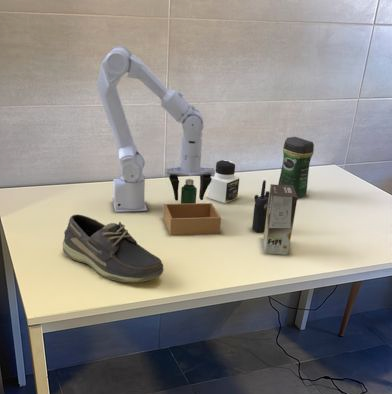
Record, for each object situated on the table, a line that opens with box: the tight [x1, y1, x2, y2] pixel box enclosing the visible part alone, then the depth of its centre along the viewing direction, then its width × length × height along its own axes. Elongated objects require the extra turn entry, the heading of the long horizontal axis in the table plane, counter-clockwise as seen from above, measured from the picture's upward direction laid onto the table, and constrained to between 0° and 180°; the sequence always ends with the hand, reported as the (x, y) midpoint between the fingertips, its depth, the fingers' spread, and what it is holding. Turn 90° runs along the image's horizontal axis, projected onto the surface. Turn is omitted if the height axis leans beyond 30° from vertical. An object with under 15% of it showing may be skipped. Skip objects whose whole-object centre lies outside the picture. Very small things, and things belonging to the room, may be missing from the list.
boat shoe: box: [62, 214, 164, 283], centre depth 128 cm, size 11×29×11 cm, turn 58°
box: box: [163, 202, 222, 236], centre depth 154 cm, size 14×11×5 cm
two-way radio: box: [251, 179, 270, 233], centre depth 152 cm, size 6×4×15 cm
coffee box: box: [262, 183, 299, 256], centre depth 142 cm, size 9×6×16 cm
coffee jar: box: [277, 136, 315, 199], centre depth 179 cm, size 10×8×19 cm
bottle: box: [180, 178, 198, 204], centre depth 163 cm, size 5×5×9 cm
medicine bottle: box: [207, 159, 240, 204], centre depth 173 cm, size 7×7×12 cm
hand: (188, 199), depth 164 cm, fingers open, 7 cm apart
